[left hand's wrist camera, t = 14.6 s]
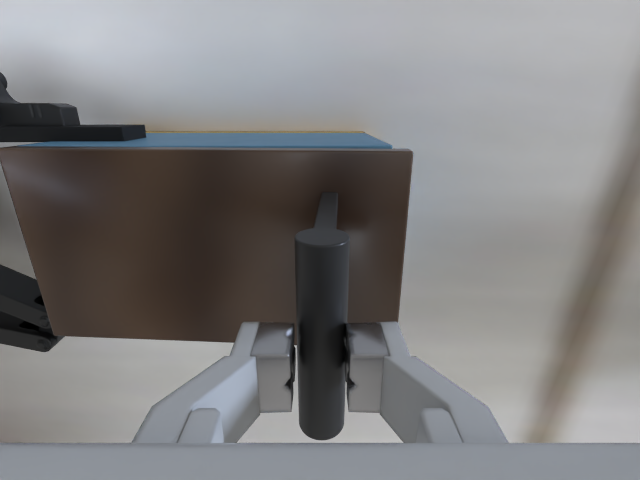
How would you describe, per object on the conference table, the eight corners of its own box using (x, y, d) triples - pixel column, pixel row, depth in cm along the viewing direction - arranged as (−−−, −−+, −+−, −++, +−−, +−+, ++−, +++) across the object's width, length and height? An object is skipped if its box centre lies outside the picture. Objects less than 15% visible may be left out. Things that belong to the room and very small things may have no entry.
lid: (409, 148, 15) (470, 184, 8) (393, 337, 19) (425, 483, 12) (14, 145, 16) (-249, 175, 9) (66, 325, 20) (-95, 452, 13)
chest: (362, 131, 27) (393, 145, 17) (357, 251, 30) (380, 321, 20) (127, 131, 27) (14, 145, 16) (149, 252, 30) (66, 325, 20)
